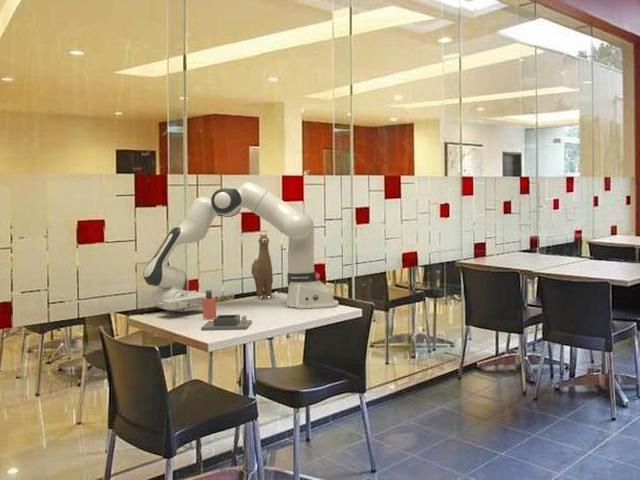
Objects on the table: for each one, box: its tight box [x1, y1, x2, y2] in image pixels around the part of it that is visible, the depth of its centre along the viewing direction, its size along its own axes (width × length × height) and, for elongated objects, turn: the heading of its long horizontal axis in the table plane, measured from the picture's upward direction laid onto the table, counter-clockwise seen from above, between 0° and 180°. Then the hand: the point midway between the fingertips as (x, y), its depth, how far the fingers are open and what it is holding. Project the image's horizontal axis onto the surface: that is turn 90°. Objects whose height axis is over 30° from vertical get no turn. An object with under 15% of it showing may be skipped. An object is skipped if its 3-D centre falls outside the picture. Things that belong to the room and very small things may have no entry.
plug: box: [202, 289, 217, 320], centre depth 238 cm, size 4×4×11 cm
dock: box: [200, 314, 253, 331], centre depth 221 cm, size 16×12×4 cm
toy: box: [250, 233, 274, 298], centre depth 287 cm, size 9×20×30 cm, turn 14°
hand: (198, 303), depth 243 cm, fingers open, 8 cm apart
